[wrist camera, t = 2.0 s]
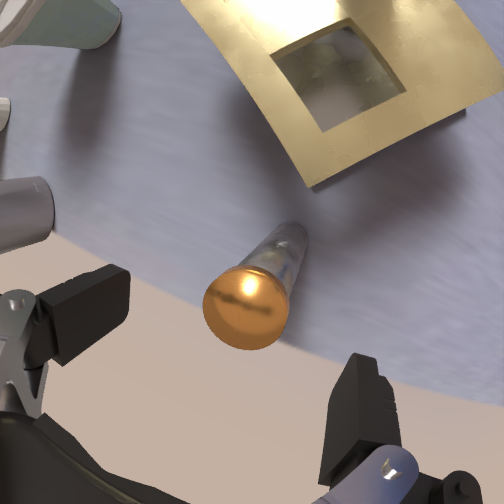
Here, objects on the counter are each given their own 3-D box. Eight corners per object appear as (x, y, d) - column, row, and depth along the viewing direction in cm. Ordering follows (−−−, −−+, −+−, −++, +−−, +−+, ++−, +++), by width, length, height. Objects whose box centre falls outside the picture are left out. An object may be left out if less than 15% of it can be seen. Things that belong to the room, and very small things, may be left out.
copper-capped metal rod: (282, 265, 25) (230, 359, 12) (263, 231, 25) (187, 293, 12) (317, 248, 24) (301, 333, 11) (298, 212, 24) (258, 257, 10)
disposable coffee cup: (127, -17, 21) (49, -63, 7) (146, 28, 22) (46, -25, 8) (70, 32, 24) (-12, 9, 10) (80, 83, 26) (-21, 66, 12)
